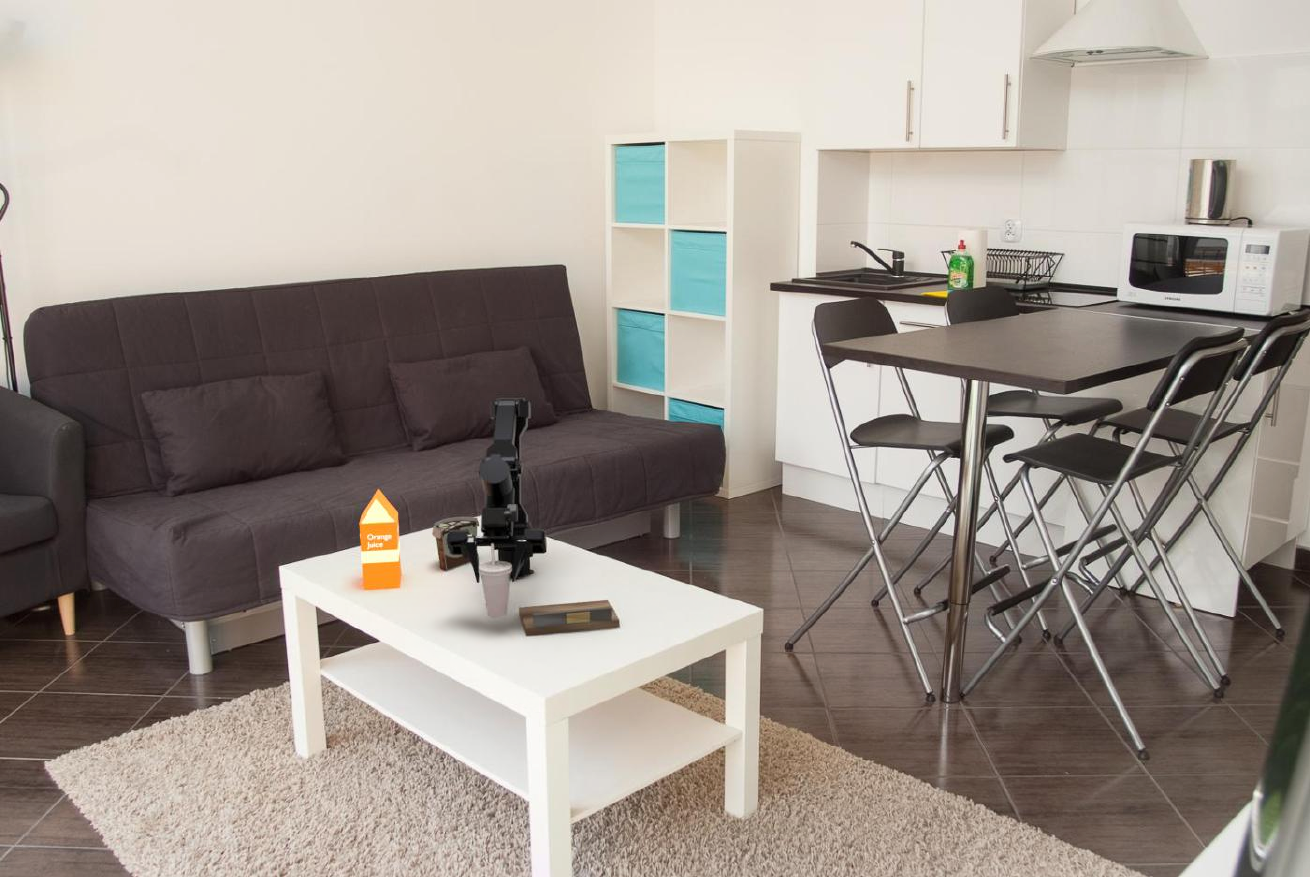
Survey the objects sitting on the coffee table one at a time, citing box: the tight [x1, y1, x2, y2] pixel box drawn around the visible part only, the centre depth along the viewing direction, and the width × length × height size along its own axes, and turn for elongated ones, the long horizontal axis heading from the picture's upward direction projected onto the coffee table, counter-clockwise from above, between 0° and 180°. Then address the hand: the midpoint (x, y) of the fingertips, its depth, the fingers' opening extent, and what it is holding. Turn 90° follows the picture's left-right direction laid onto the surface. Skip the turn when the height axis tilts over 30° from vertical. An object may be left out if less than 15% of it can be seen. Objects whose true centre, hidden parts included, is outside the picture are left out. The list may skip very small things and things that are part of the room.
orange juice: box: [359, 488, 402, 591], centre depth 251 cm, size 8×9×20 cm
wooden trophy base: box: [518, 599, 620, 637], centre depth 228 cm, size 12×18×4 cm
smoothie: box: [479, 543, 512, 618], centre depth 223 cm, size 6×6×14 cm
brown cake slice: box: [431, 516, 480, 572], centre depth 265 cm, size 12×6×10 cm, turn 144°
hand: (495, 581), depth 222 cm, fingers closed on smoothie, 6 cm apart
